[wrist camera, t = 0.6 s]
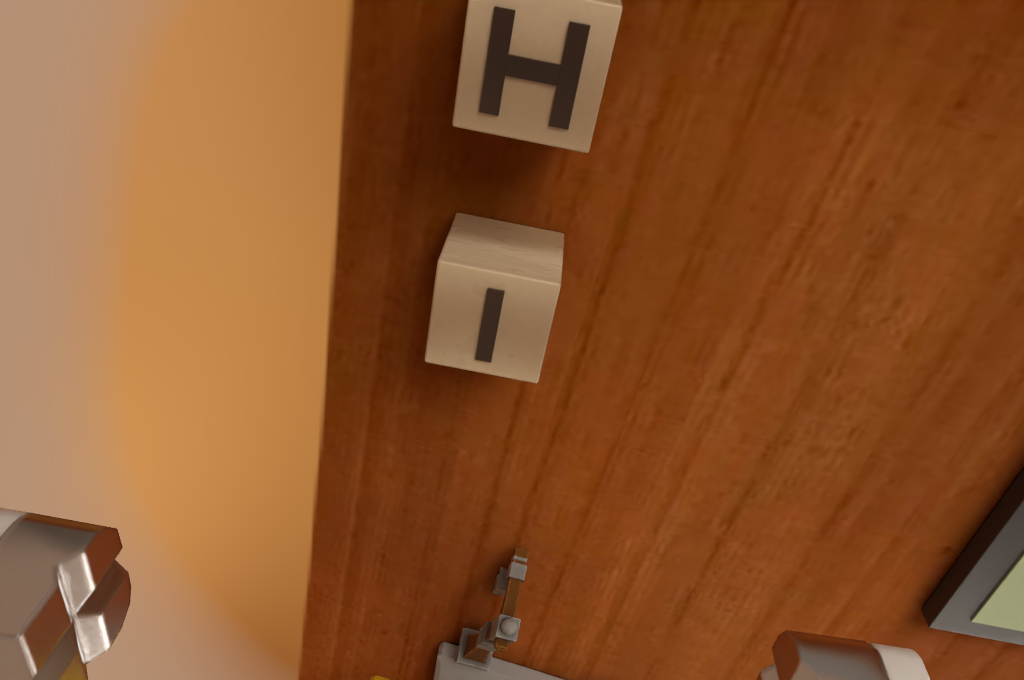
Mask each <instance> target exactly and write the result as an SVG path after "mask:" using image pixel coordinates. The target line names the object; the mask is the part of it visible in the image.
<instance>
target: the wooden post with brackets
mask: <svg viewBox="0 0 1024 680" xmlns="http://www.w3.org/2000/svg"><path fill="white" fill-rule="evenodd" d="M528 553H529V551H528V550H525V549H521V548H518V547H517V548H516V549H515V550H514V551H513V558H512V559H511V561H512V563H511V564H510V565H509V568H508V569H506V568H503V567H501V568H500V573H499V574H497V576H496V580H495V585H494V590H493V593H495V594H499V595H502V596H504V600H503V605H502V608H501V611H500V614H499V617H497V618H494V620H493V623H492V622H486V623H485V625H484V626H483V627H480V630H479V631H476V630H472V629H469V628H463V630H462V634H461V638H460V643H459V647H458V651H457V655H456V660H455V664H458V665H462V666H465V667H469V668H473V669H476V670H480V671H484V672H487V673H488V671H489V668H490V663H491V658H492V654H493V652H495V650H498V651H501V652H503V651H505V650H507V649H508V647H509V645H510V643H512V642H514V641H516V642H517V636H518V631H519V626H520V621H521V619H517V618H515V614H516V609H517V604H518V599H519V594H520V589H521V584H522V582H523V581H524V579H525V574H526V569H527V566H526V562H527V556H528Z"/></svg>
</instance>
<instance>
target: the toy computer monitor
mask: <svg viewBox="0 0 1024 680" xmlns="http://www.w3.org/2000/svg"><path fill="white" fill-rule="evenodd" d="M458 647H459V646H457V645H454V644H450V643H447V642H442V643H440V645H439V650H438V656H437V662H436V668H435V674H434V680H565V679H562V678H559V677H556V676H552V675H549V674H546V673H543V672H540V671H537V670H533V669H530V668H527V667H524V666H521V665H517V664H514V663H511V662H508V661H505V660H501V659H498V658H495V657H492V658H491V663H490V668H489V671H488V673H487V672H484V671H480V670H476V669H473V668H469V667H465V666H462V665H458V664H455V660H456V655H457V651H458ZM369 680H390V679H387V678H384V677H380V676H377V675H375V676H373V677H372V678H370V679H369Z"/></svg>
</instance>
